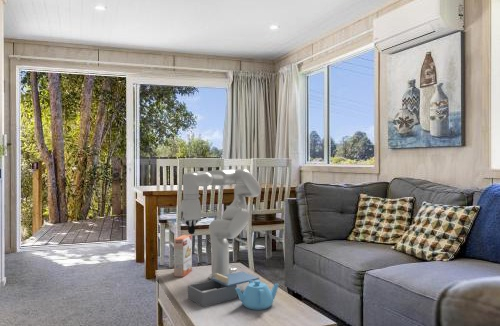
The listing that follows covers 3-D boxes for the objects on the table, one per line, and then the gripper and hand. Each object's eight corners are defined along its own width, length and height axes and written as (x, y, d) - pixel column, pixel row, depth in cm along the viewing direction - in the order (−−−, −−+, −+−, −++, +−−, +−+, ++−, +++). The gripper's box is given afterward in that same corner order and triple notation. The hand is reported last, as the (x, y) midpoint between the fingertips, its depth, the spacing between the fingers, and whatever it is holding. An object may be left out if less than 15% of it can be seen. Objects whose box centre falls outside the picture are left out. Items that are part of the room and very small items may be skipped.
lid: (242, 272, 212) (241, 266, 211) (259, 279, 200) (259, 272, 200) (211, 279, 201) (211, 272, 201) (228, 286, 189) (228, 279, 189)
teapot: (233, 307, 180) (232, 283, 180) (250, 297, 193) (249, 274, 193) (264, 313, 173) (264, 288, 172) (280, 302, 186) (279, 278, 186)
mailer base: (220, 290, 204) (220, 278, 204) (236, 298, 192) (236, 285, 192) (187, 298, 193) (187, 285, 193) (203, 306, 182) (202, 293, 182)
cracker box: (184, 277, 227) (183, 239, 227) (173, 276, 229) (173, 239, 228) (192, 270, 241) (192, 234, 241) (182, 270, 242) (182, 234, 242)
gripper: (200, 195, 217) (200, 230, 217) (173, 198, 208) (174, 234, 208) (207, 196, 211) (208, 232, 211) (180, 199, 202) (181, 236, 202)
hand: (191, 233), depth 210 cm, fingers closed
